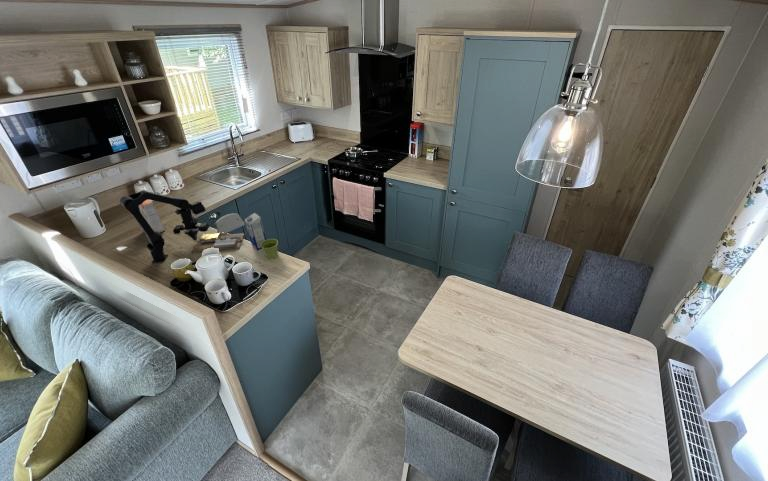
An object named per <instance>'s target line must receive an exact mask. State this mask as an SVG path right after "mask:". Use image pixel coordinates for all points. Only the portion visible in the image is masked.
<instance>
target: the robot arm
mask: <svg viewBox="0 0 768 481" xmlns="http://www.w3.org/2000/svg"><path fill="white" fill-rule="evenodd" d="M146 200H150V201H152V202H158V203H164V204H168V205H171V206H174V207H176V208H177V209H176V210H175V211H174V213H175V214H176V215H180V217H181V220H182V221H181V223H182V224H180V225H179V224H177V225H176V226H174V228H173V229H172V233H173V234H175V235H177V234H180V233H181V232H182V231H183V232H184V233H183V234H184V235H187V236H188V237H190V238H191V239H192V240H193V241H195V242H196V241H197V240H198V233H199V232H201V233H203V232H208V230H209V228H210V225H209V223H208V222H205V223H204V222H203V223H200V218H199V216H198V217H195V216H197V215H199V214H203V213H205V212H206V207H205V206H204V204H203V202H201V201H200V200H199V201H197V202H193V203H192V204H191V203H190V202H189V201H188V200H187V199H186V198H184V197H182V196H176V195H174V196H168V195H165V194H160V193H157V192H152V191H148V190H141V191H137V192H135V193H131V194H128V195H124V196H122V197H121V198H120V199H119V204H120V205H121V206H122V207H123V208H124V209H125V210H126V211H128V213H129V214H130V215H131V216H132V217H133V219H134V220H135V221H136V222H137V224H138V226H140V228H141V230H143V232H144V234H145V235H146V240H148V243H147V245H146V249H147V250H149V251H150V255H151V257H152V259H153V260H152V261H151V262H152V264H153V263H163V262H165V260H166V259H167V258H168V257H169V254H165V252H164V246H165V244H166V243H165V241H166V239H164V238H163V236H162V234H161V233H158V232H157V231H156V232H154V231H153V229H152V228H151V227H150V225H149V224H148V222H147V221H146V219H145V218H144V217H143V215H142V213H141V211H140V209H139V205H141V204H142V203H143V202H144V201H146ZM193 215H195V216H193ZM198 223H200V225H199V224H198Z"/></svg>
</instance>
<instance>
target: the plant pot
mask: <svg viewBox="0 0 768 481" xmlns="http://www.w3.org/2000/svg"><path fill="white" fill-rule="evenodd" d="M278 245H279V240H278V239H276V238H269V239H267V238H266V240H265V241H263V242H262V243H261V247H262V250H263V251H264V254H265V257H266V258H267V259H268V260H270V259H272V260H273V259H276V258H277V257H278V255H279V252H278Z"/></svg>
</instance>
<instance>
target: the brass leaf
mask: <svg viewBox="0 0 768 481" xmlns="http://www.w3.org/2000/svg"><path fill="white" fill-rule="evenodd" d="M220 235H221V233H218V232H217V233H206V234H205V233H204V234H202V235H201V237H199V240H200V241H204V240H215V239H219V238H220Z"/></svg>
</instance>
